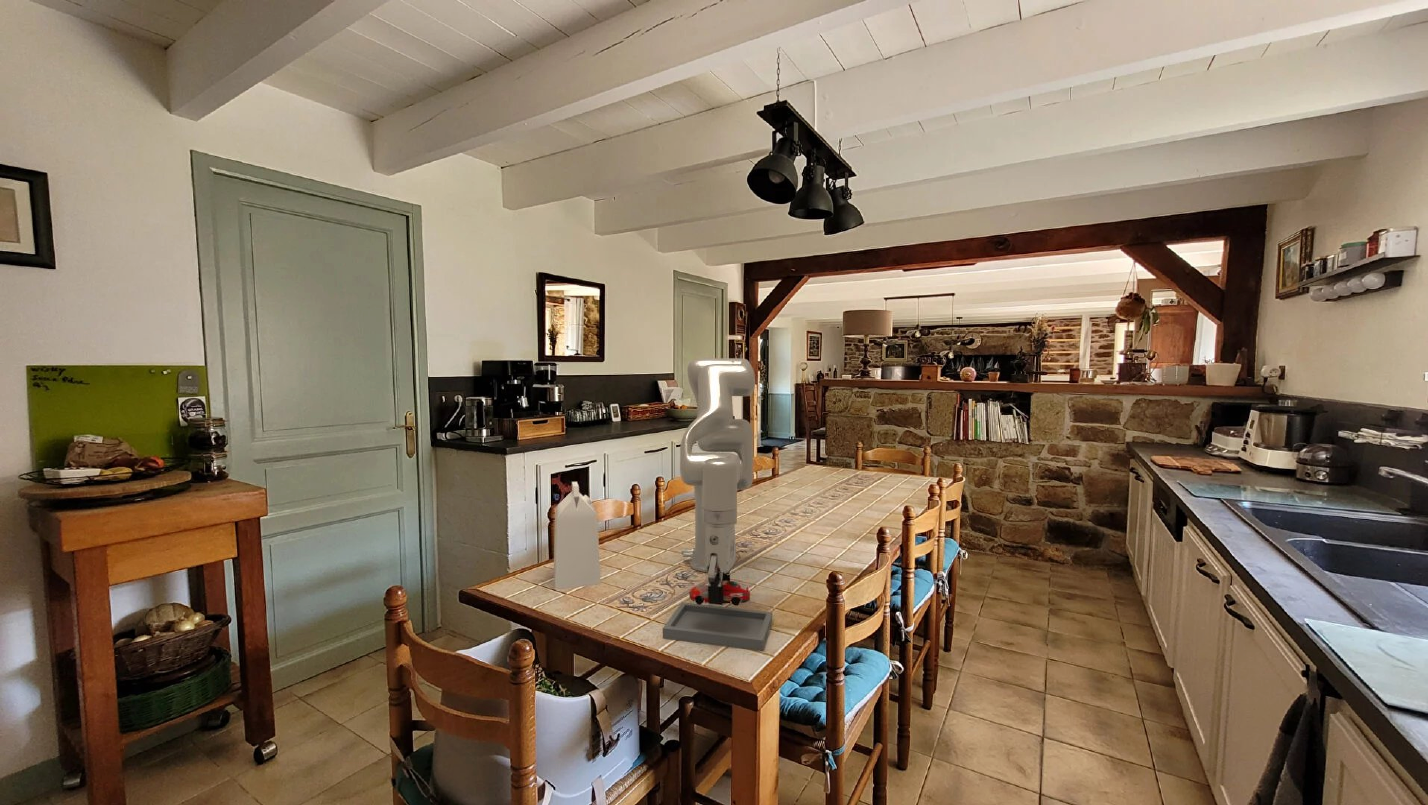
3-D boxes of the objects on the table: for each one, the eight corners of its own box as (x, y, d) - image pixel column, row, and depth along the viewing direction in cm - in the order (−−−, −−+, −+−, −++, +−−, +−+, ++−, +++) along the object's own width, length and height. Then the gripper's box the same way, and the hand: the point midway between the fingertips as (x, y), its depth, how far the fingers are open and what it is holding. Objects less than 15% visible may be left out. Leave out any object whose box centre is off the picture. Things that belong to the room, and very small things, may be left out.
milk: (553, 573, 154) (552, 480, 152) (595, 568, 158) (594, 478, 156) (555, 589, 143) (553, 490, 141) (600, 584, 146) (599, 487, 145)
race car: (687, 604, 118) (687, 586, 118) (690, 594, 123) (690, 577, 123) (749, 607, 117) (749, 588, 117) (750, 596, 122) (750, 578, 122)
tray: (662, 638, 117) (662, 628, 117) (681, 611, 130) (681, 602, 130) (762, 651, 112) (763, 640, 112) (772, 621, 125) (772, 612, 125)
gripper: (727, 527, 110) (727, 616, 111) (744, 507, 127) (744, 584, 128) (691, 525, 112) (691, 612, 113) (712, 505, 129) (712, 581, 129)
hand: (719, 597), depth 120 cm, fingers closed on race car, 5 cm apart
